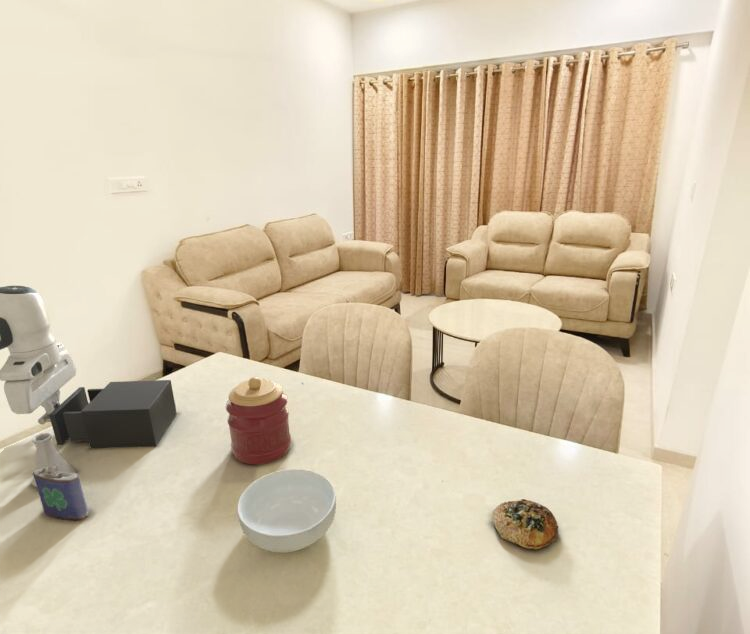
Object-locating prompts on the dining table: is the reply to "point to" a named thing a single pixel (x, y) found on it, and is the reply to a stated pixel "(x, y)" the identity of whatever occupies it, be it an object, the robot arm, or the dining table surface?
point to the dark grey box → (129, 414)
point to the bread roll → (525, 523)
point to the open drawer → (70, 417)
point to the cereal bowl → (287, 510)
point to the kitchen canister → (258, 421)
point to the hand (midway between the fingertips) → (54, 411)
